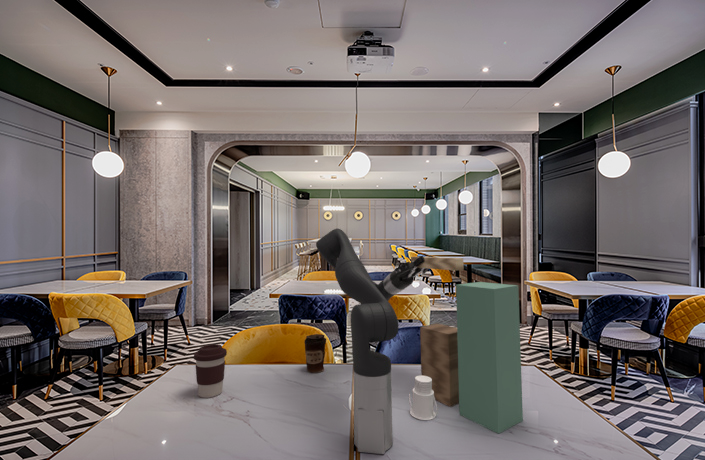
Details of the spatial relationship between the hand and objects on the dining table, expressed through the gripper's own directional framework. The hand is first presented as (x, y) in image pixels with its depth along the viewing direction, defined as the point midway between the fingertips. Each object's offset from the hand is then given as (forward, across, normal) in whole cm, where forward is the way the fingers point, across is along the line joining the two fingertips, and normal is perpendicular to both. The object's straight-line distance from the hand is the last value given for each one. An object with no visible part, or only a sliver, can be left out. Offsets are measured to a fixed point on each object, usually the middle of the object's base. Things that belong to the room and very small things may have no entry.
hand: (427, 258), depth 115 cm
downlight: (-13, +14, -42) cm, 46 cm away
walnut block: (-16, 0, -40) cm, 43 cm away
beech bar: (+1, 0, -4) cm, 5 cm away
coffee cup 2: (-55, +22, -18) cm, 62 cm away
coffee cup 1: (-56, +59, -17) cm, 84 cm away
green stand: (-2, 0, -48) cm, 48 cm away
